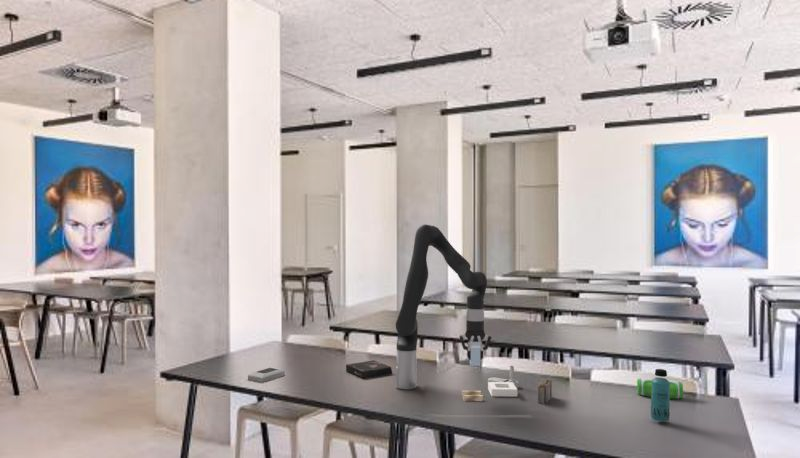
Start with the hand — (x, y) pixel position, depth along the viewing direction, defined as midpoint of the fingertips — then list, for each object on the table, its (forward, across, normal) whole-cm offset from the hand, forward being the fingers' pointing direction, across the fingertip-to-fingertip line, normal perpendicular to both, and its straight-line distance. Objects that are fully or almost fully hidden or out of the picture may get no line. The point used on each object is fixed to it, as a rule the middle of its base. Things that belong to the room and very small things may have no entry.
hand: (475, 359), depth 238 cm
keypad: (+18, -98, +32) cm, 104 cm away
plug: (+2, 0, 0) cm, 2 cm away
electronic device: (+18, +15, +22) cm, 32 cm away
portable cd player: (+18, -49, +42) cm, 67 cm away
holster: (+17, -1, 0) cm, 17 cm away
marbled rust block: (+18, +30, +1) cm, 35 cm away
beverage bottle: (+18, +67, -25) cm, 74 cm away
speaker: (+18, +81, +8) cm, 83 cm away
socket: (+17, +13, +8) cm, 23 cm away
